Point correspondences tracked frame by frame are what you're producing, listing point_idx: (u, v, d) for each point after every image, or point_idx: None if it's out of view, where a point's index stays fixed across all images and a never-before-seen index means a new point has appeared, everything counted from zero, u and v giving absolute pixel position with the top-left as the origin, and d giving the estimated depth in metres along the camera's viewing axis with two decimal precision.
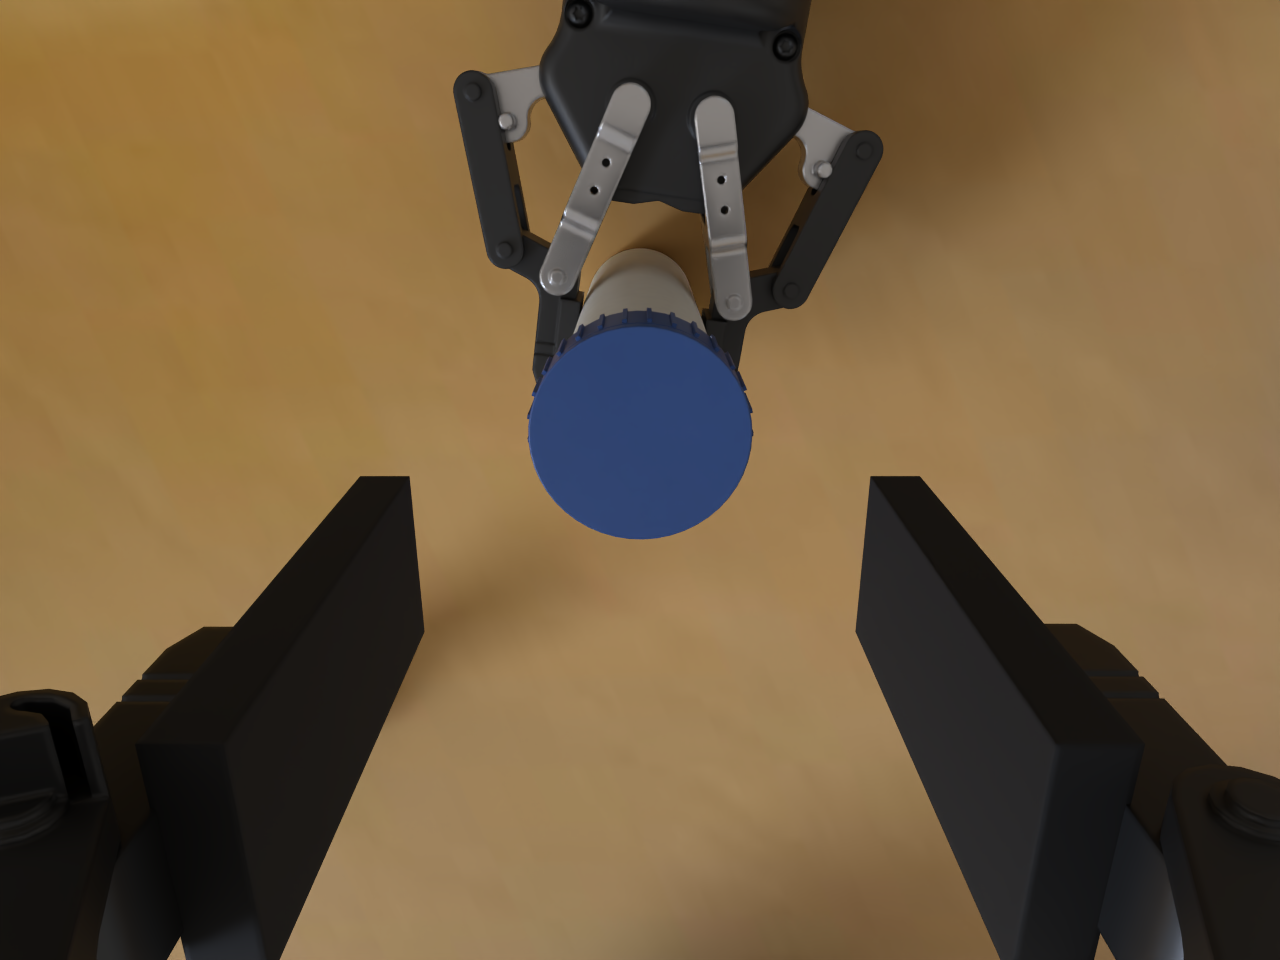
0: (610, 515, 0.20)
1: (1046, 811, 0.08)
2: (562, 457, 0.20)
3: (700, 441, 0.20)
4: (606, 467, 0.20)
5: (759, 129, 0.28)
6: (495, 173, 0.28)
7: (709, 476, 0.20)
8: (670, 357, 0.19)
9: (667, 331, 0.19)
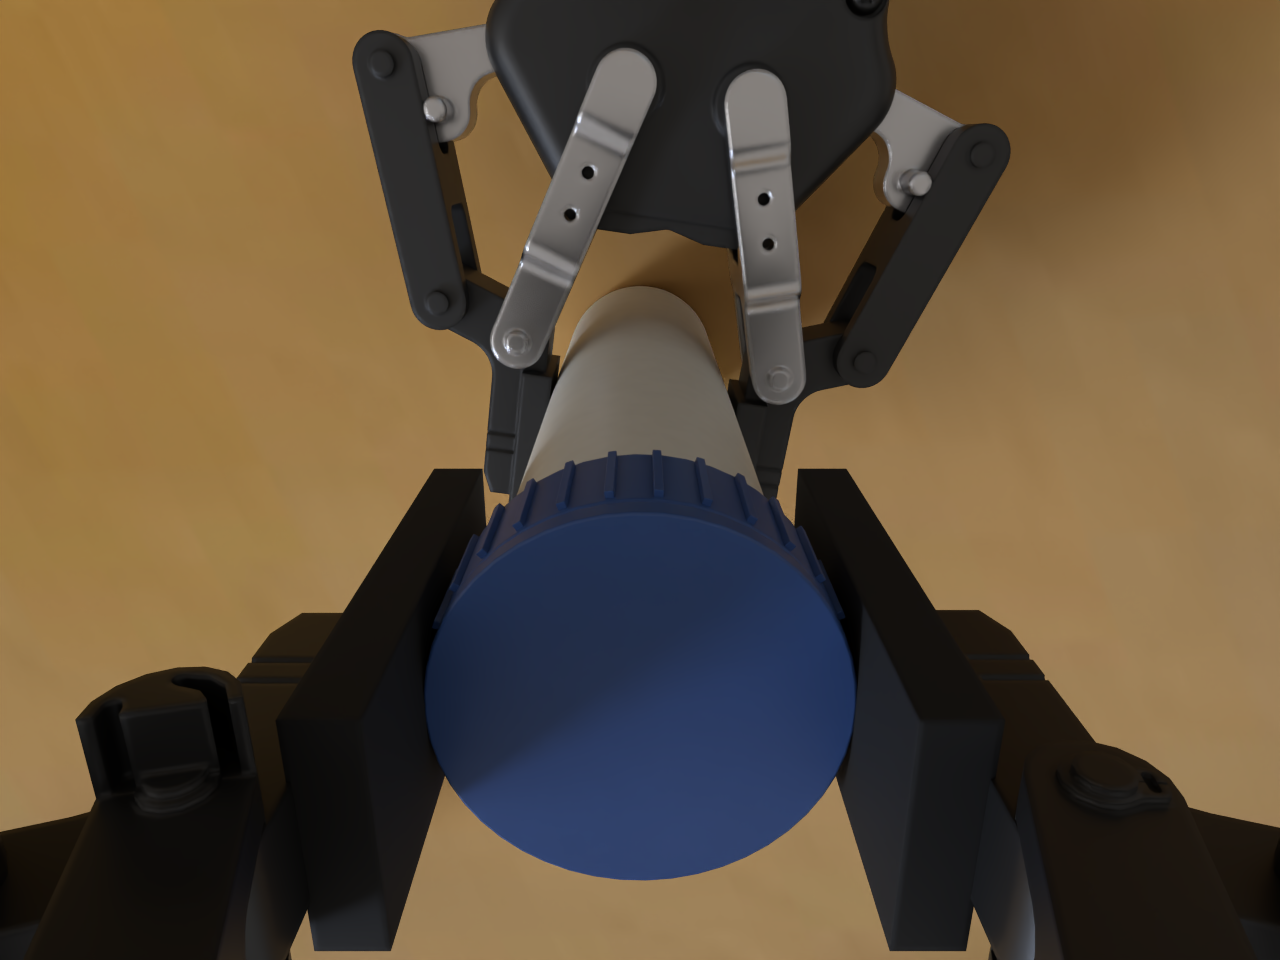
0: (584, 842, 0.11)
1: (915, 785, 0.08)
2: (491, 746, 0.10)
3: (756, 719, 0.10)
4: (575, 763, 0.10)
5: (822, 122, 0.18)
6: (420, 188, 0.19)
7: (772, 778, 0.11)
8: (700, 570, 0.10)
9: (695, 522, 0.09)
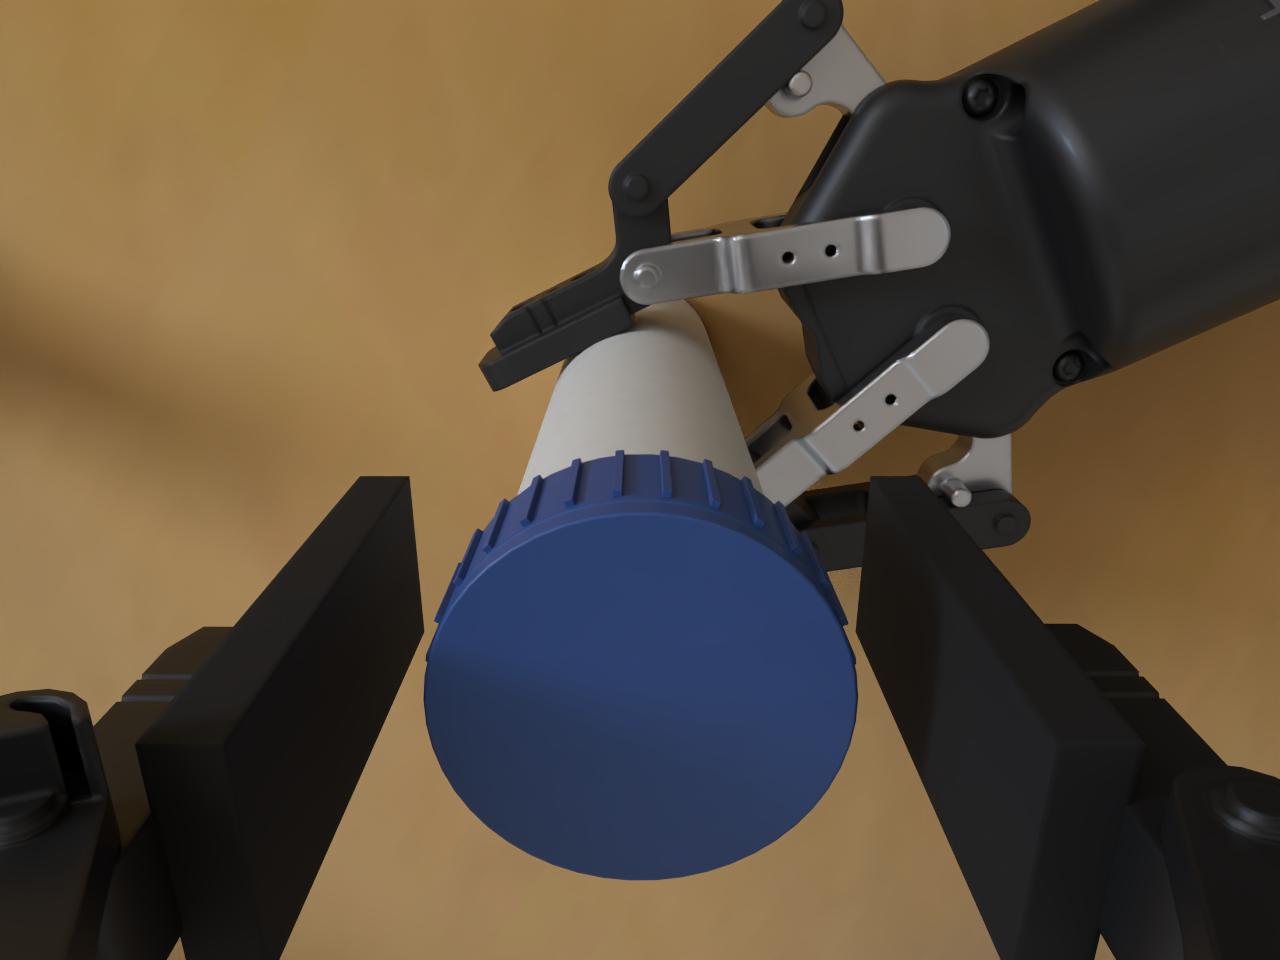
0: (716, 835, 0.11)
1: (1046, 811, 0.08)
2: (572, 824, 0.11)
3: (727, 642, 0.10)
4: (641, 787, 0.11)
5: (965, 399, 0.21)
6: (727, 111, 0.18)
7: (794, 673, 0.10)
8: (557, 579, 0.10)
9: (513, 551, 0.10)
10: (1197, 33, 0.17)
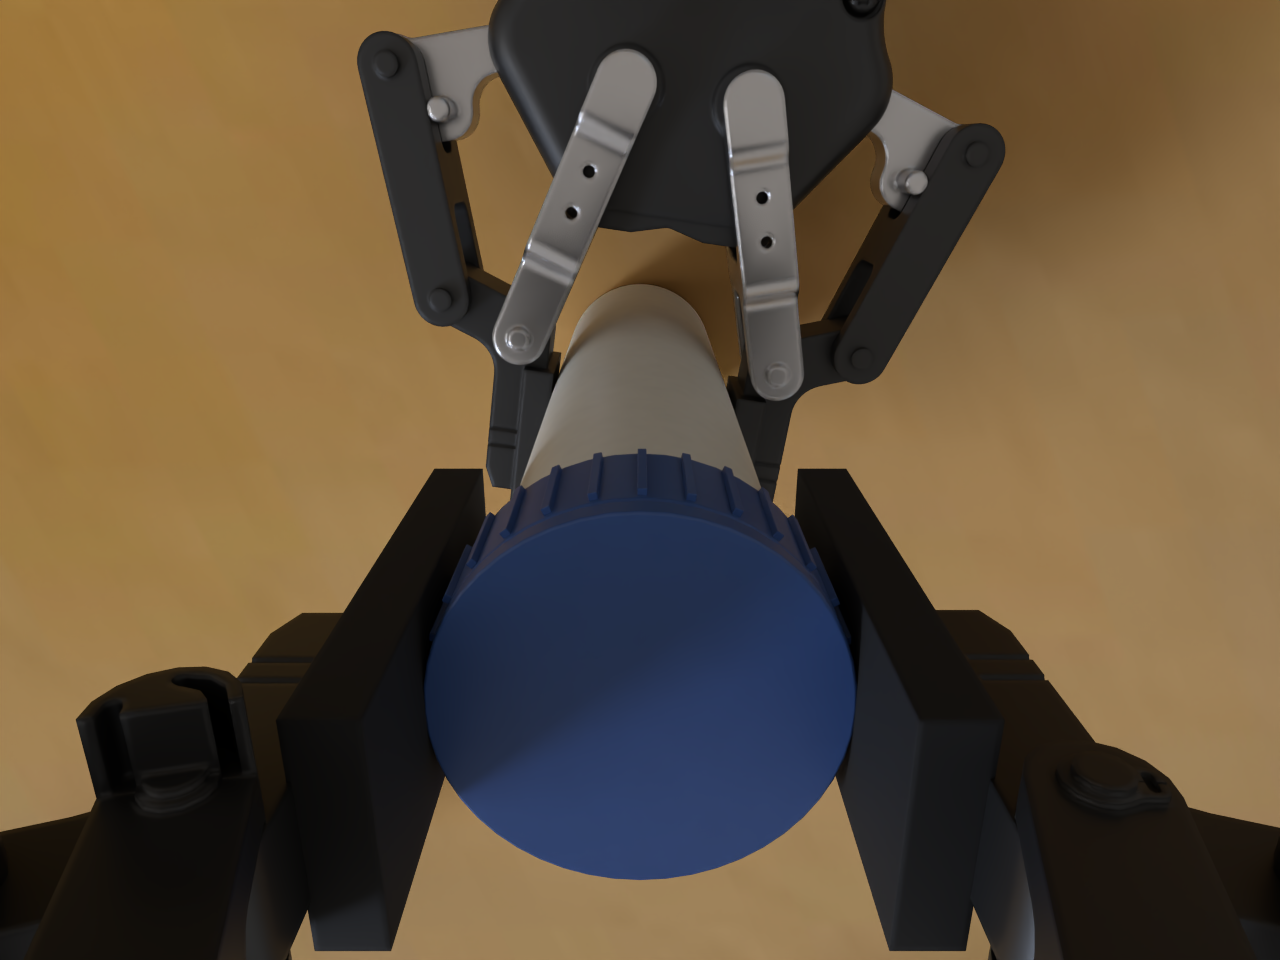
0: (811, 729, 0.10)
1: (915, 785, 0.08)
2: (711, 822, 0.11)
3: (619, 610, 0.10)
4: (713, 754, 0.10)
5: (819, 121, 0.18)
6: (424, 186, 0.19)
7: (689, 576, 0.10)
8: (472, 696, 0.10)
9: (428, 709, 0.10)
10: None
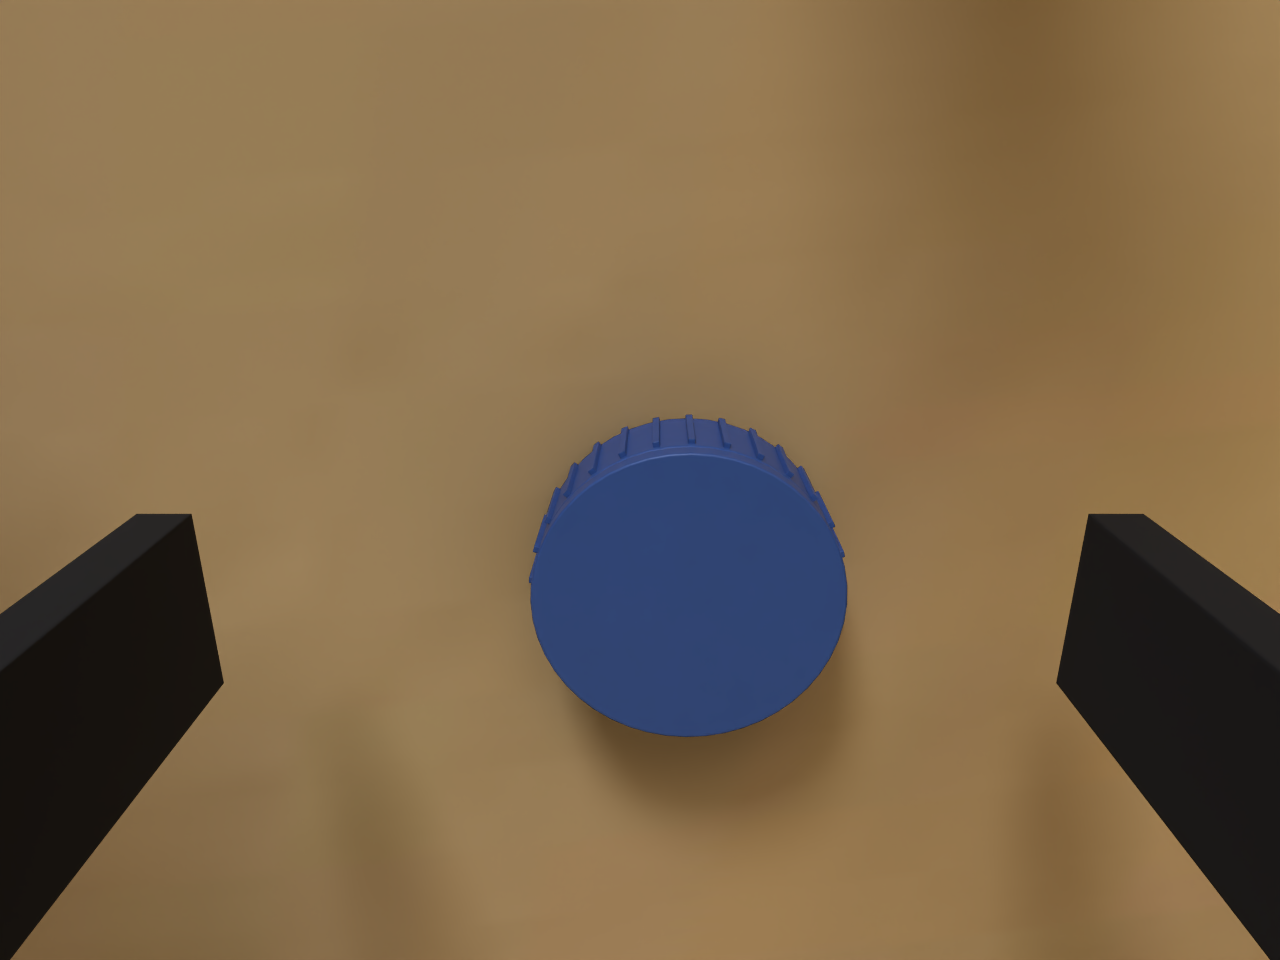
0: (813, 618, 0.14)
1: None
2: (739, 691, 0.15)
3: (674, 526, 0.14)
4: (741, 637, 0.14)
5: None
6: None
7: (725, 501, 0.13)
8: (566, 590, 0.14)
9: (533, 601, 0.14)
10: None
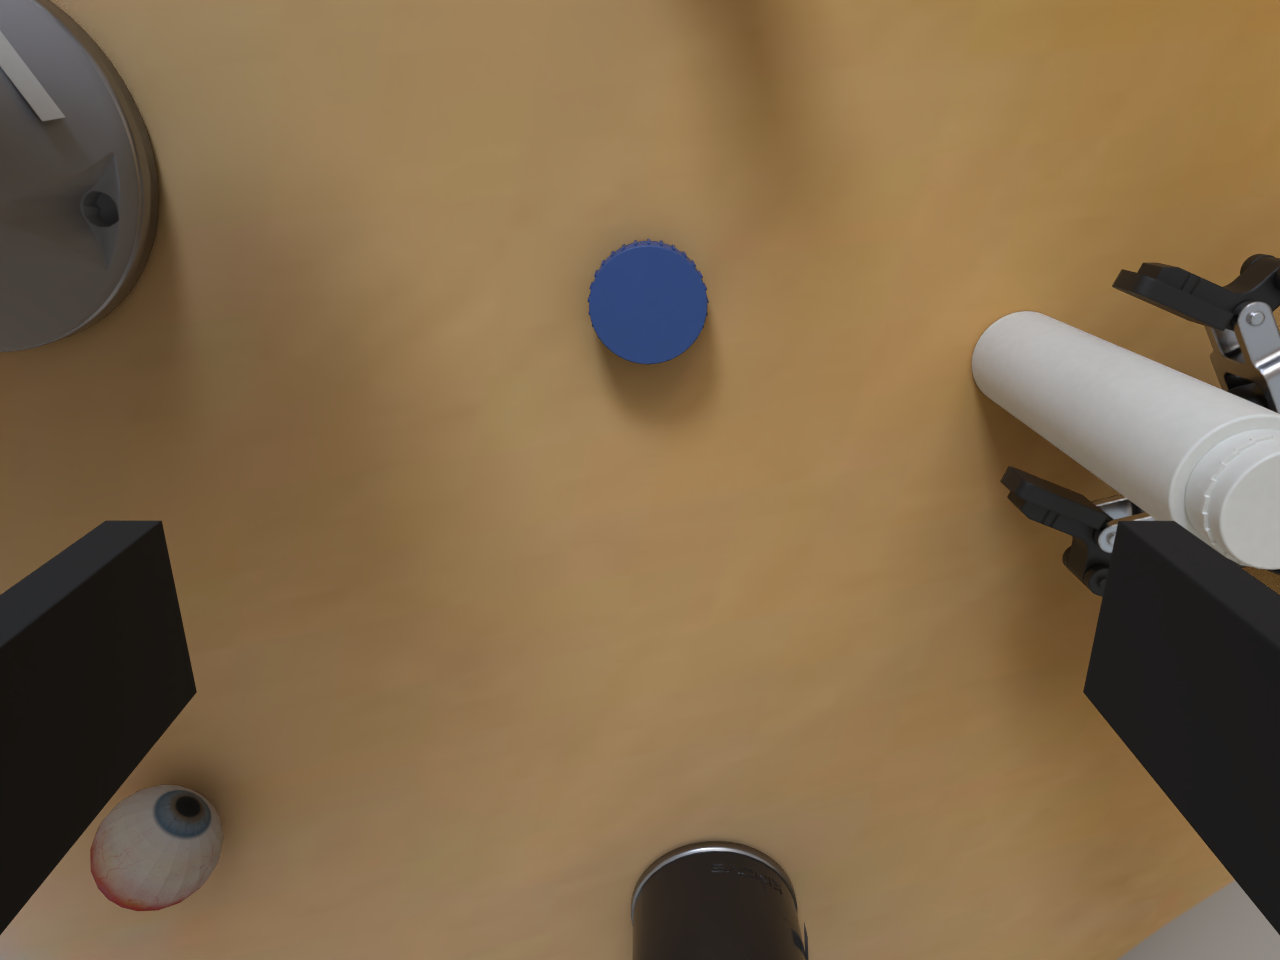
0: (695, 311, 0.38)
1: None
2: (668, 343, 0.38)
3: (642, 274, 0.37)
4: (668, 320, 0.38)
5: None
6: None
7: (661, 264, 0.37)
8: (602, 301, 0.38)
9: (590, 305, 0.38)
10: None
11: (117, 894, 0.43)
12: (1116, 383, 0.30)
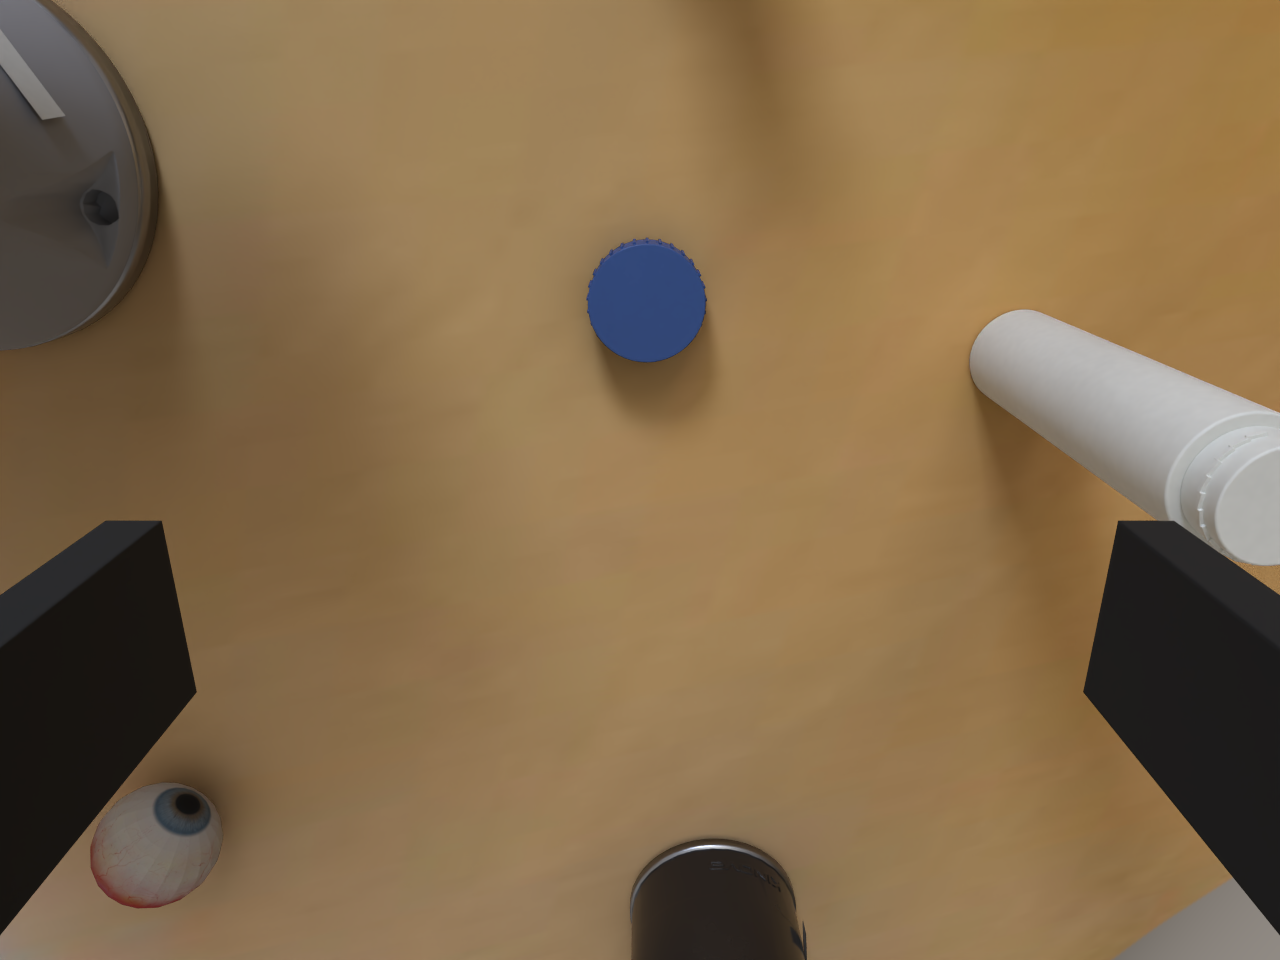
0: (693, 310, 0.38)
1: None
2: (666, 341, 0.38)
3: (641, 272, 0.37)
4: (666, 318, 0.38)
5: None
6: None
7: (659, 262, 0.37)
8: (601, 299, 0.38)
9: (589, 304, 0.38)
10: None
11: (117, 891, 0.44)
12: (1112, 381, 0.30)
